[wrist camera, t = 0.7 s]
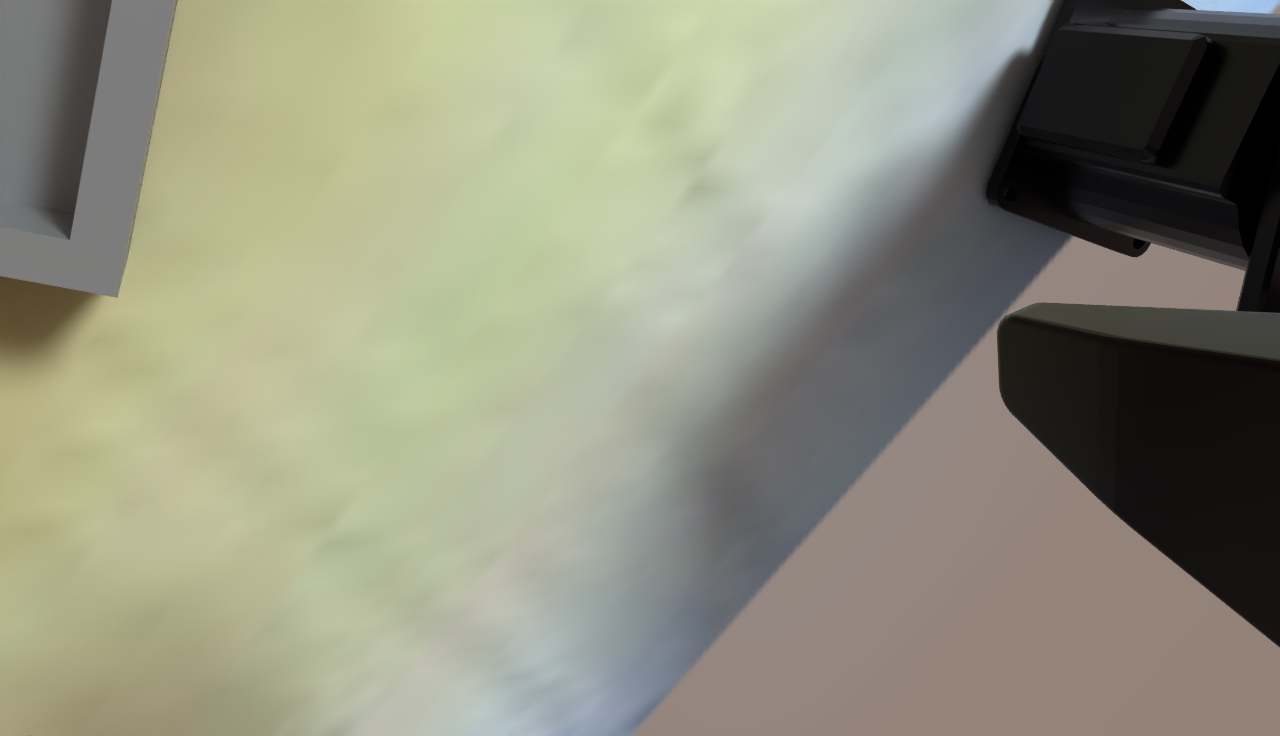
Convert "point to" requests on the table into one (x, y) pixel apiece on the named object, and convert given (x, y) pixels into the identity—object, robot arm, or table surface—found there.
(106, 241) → the tray
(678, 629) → the table surface
